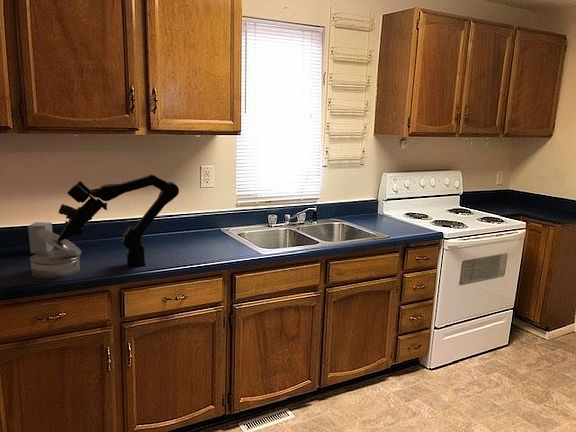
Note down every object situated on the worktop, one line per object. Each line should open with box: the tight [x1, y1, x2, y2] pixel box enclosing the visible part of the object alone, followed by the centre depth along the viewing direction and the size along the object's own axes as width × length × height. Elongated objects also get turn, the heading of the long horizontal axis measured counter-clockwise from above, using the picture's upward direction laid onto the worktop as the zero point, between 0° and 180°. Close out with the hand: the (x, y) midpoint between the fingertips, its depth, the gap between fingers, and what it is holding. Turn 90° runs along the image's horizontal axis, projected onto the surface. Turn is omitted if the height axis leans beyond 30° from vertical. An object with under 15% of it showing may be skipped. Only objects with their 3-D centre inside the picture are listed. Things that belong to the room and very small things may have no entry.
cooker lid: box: [37, 229, 82, 256], centre depth 185 cm, size 18×18×1 cm
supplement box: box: [27, 221, 55, 254], centre depth 212 cm, size 7×7×13 cm
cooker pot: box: [29, 247, 81, 280], centre depth 189 cm, size 18×25×6 cm
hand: (58, 240), depth 184 cm, fingers closed
